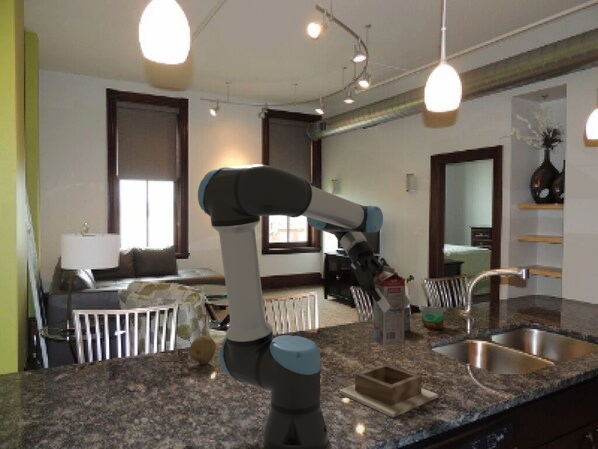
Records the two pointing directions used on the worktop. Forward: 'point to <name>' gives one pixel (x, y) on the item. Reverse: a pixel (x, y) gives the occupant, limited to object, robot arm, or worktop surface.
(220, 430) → the worktop surface
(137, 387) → the worktop surface
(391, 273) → the juice carton
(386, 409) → the birch collar board
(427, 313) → the food container
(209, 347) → the natural sponge
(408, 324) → the small box
